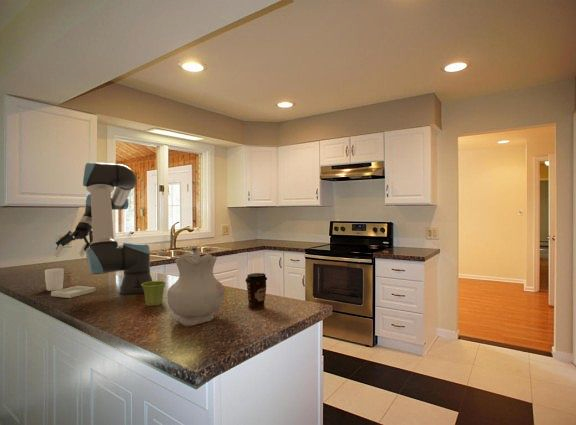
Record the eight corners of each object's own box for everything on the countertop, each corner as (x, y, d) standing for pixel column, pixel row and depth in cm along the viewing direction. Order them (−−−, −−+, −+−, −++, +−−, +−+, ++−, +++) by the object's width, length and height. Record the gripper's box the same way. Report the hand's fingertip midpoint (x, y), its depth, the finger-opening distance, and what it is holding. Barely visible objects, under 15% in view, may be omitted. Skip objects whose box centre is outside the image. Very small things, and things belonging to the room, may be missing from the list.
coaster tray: (95, 291, 161) (95, 287, 161) (70, 298, 149) (70, 293, 149) (76, 289, 165) (76, 285, 165) (51, 296, 153) (51, 291, 153)
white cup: (54, 291, 163) (53, 271, 163) (41, 290, 164) (40, 270, 164) (68, 287, 171) (67, 268, 170) (55, 287, 172) (54, 268, 172)
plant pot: (171, 302, 138) (170, 281, 138) (153, 308, 130) (153, 286, 130) (154, 300, 142) (154, 280, 142) (136, 306, 134) (136, 284, 134)
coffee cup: (271, 305, 131) (270, 273, 131) (263, 312, 123) (262, 277, 123) (251, 304, 134) (250, 272, 134) (242, 310, 126) (241, 276, 126)
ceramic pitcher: (164, 317, 122) (157, 250, 121) (215, 305, 132) (209, 243, 130) (175, 336, 103) (167, 258, 102) (235, 320, 113) (228, 248, 111)
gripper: (109, 229, 196) (94, 259, 181) (67, 230, 196) (49, 259, 181) (103, 221, 190) (88, 250, 175) (60, 221, 191) (41, 251, 176)
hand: (68, 255), depth 178 cm, fingers open, 13 cm apart
